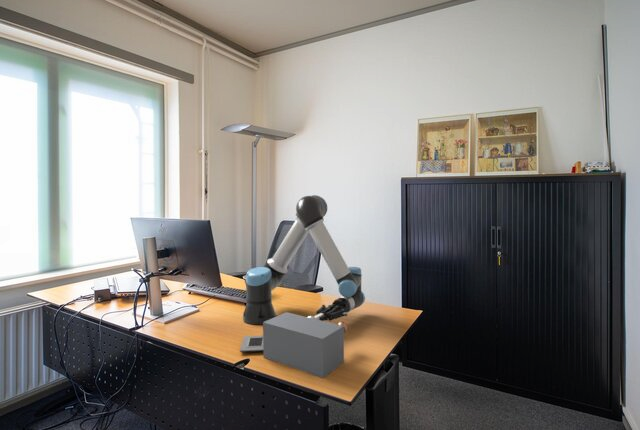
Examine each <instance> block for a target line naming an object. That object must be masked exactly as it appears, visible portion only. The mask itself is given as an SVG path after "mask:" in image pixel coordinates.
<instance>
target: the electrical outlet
mask: <svg viewBox="0 0 640 430" xmlns="http://www.w3.org/2000/svg"><path fill="white" fill-rule="evenodd" d="M239 352H240V353H256V352H264V351H263V334H262V335H244V336H243V338H242V342H241V345H240V349H239Z"/></svg>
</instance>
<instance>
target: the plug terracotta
mask: <svg viewBox="0 0 640 430" xmlns="http://www.w3.org/2000/svg"><path fill="white" fill-rule="evenodd" d="M336 324H337V325H342V326H344V335H345V334H347V333H348V332H349V327H348V324H347V323H345V322H344V321H340V322H339V323H336Z"/></svg>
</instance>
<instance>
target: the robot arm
mask: <svg viewBox="0 0 640 430" xmlns="http://www.w3.org/2000/svg"><path fill="white" fill-rule="evenodd" d="M295 210H296V213H295V221H294V222H293V224H292V226H291V227H290V229H289V230H288V232H287V234H286V235H285V236H284V238H283V240H282V242H281V244H280V245H279V247H278V248H277V250H276V252H274V254H273V256H272V257H270V258H268V259H267V260H266V262H265V263H264V265H263V266H257V267H252V268H251V269H249V270H248V271H247V272H246V283H245V292H246V293H245V294H246V304H245V307H244V310H243V311H244V312H243V314H242V319H243V320H242V321H243V322H244V323H245V324H249V325H263V322H265V321H267V320H269V319H272V318H274V317H276V311H275V307H274V305H273V302H272V300H273V299H272V298H273V297H272V291H273V290H275V289H276V288H278V287H280V286H281V285H282V284H283V282H284V280H285V278H286V274H287V273H288V272H289V270H288V267H289V264H290V262H291V261H292V259H293V258H294V256H295V255H296V253H297V252H298V250H299V248H300V247H301V245H302V244H303V242H304V241H305V239H306V238H307V236H308V234H310V236H311V238H312V240H313V242H314V243H315V245H316V248H317V249H318V251H319V253H320V254H321V256H322V258H323V261H325V263H326V265H327V267H328V269H329V271H330V273H331V274H332V276H333V278H334V279H335V281H336V284H337V285H338V292H339V294H340V295H341V296H340V297H339V298H337V299H335V300H334V301H333V302H332V303H331V304H329V305H328V306H326V305H325V304H322V305H321V307H320V308H318V309H317V310H316V315H314V316H313V317H315V319H317V320H321V321H329V322H330V321H334V320H336V319H337V320H338V319H339V318H342V317H347V316H348V313H350V312H351V311H354V310H355V309H357V308H359V307H361V306H362V305H363V304H364V303H365V301H366V296H365V293H364V292H363V291H362V276H363V275H362V269H361V267H358V266H348V264H347V263H346V261H345V259H344V258H343V256H342V254H341V252H340V250H339V248H338V246H337V245H336V243H335V241H334V240H333V238H332V236H331V233H330V232H329V230H328V228H327V227H326V225H325V223H324V221H325V219H324V217H325V216H326V215H327V212H328V203H327V202H326V200H325V199H324V197H322V196H319V195H316V194H313V195H306V196H305V195H304V196H302V197H301V198H300V199H299V200H298V201H297V203H296V208H295Z"/></svg>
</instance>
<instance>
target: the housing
mask: <svg viewBox="0 0 640 430" xmlns="http://www.w3.org/2000/svg"><path fill="white" fill-rule="evenodd" d="M337 324H338V323H332V322H330V321H329V322H328V321H326V320H324V321H321V320H317V319H313V318H308V316H303V315H299V314H296V313H292V312H287V311H286V312H283V313H281V314H279V315H277V316H276V317H274V318H272V319H269V320H267V321H265V322H263V324H262V335H263V351H262V352H263V358H264V359H267V360H270V361H272V362H276V363H279V364H281V365H284V366H288V367H290V368H293V369H296V370H298V371H301V372H304V373H306V374H310V375H312V376H315V377H318V378H322V379H324V378H325V377H327V376H328V375H329V374H331V373H332V372H333V371H335V370H336V369H337V368H339V367H340V366H341V365H343V364H344V362H345V334H344V326H342V325H337Z"/></svg>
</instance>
